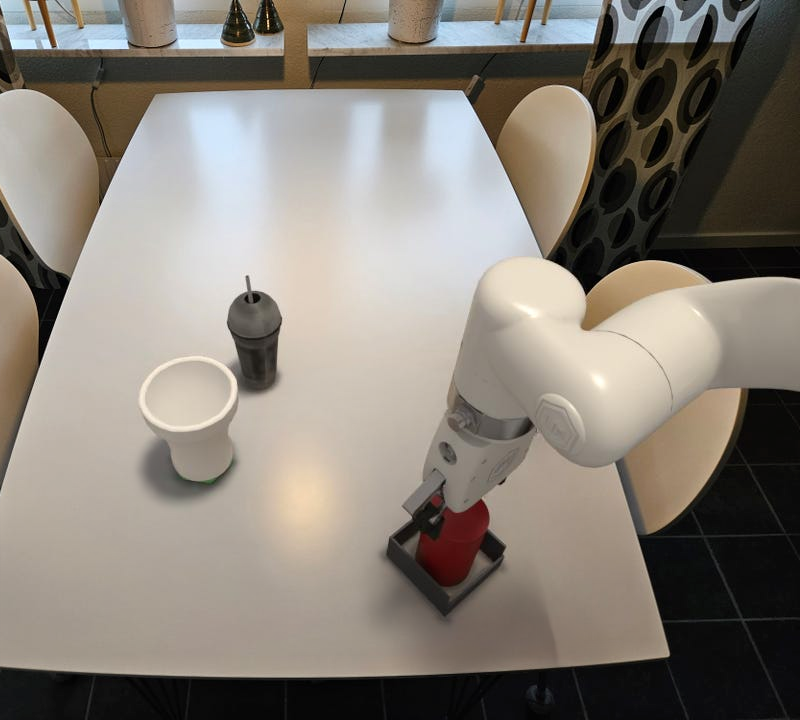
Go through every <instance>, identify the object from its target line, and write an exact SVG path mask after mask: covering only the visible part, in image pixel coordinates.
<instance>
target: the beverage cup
mask: <svg viewBox="0 0 800 720" xmlns="http://www.w3.org/2000/svg"><path fill="white" fill-rule="evenodd" d="M244 278H245V283H246V290H247V291H245V292H242V293H240V294H239V295H238V296H236V297H235V298H234V299H233V301H232V303H231V304H230V305H229V308H228V313H227V319H226V325H227V330H229V332H230V335H231V338H232V340H233V342H234V346H235V348H236V349H235V350H236V354H237V358H238V361H239V366H240V369H241V373H242V376H243V379H244V382H245V384H246V385H247V386H248V387H249V388H251V389H254V390H265V389H268V388H270V387H271V386H272V385H274V383H275V381H276V375H277V368H278V350H279V349H278V348H279V335H280V332H281V328H282V327H281V326H282V324H283V317H282V313H281V310H280V308H279V306H278V303H277V302H276V300H275V299H273V298H272V297H271V295H269V294H267V293H266V292H264V291H260V290H252V286H251V285H252V284H251V278H250V275H248V274H246V275H245V276H244Z"/></svg>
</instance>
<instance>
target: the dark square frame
mask: <svg viewBox="0 0 800 720" xmlns="http://www.w3.org/2000/svg"><path fill="white" fill-rule="evenodd" d="M419 532H420V531H419V530H418V529H417V528H416V527H415V525H414V521H413V519H412V518H411V519H409V520H408V521H407V522H406V523H404V524H403V525H402V526H401V527H399V528H398V529H397V530H396V531H394V532H393V533H392V534H391V535H390V536H389V537H388V540H387V548H386V554H385V556H386V557H387V558H388V559H389V560H390V561H391V562H392V563H393V564H394V565H395V566H396V568H397V569H398V570H399V571H400V572H401V573H402V574H403V575H404V576H405V577H406V578H407V579H408V580H409V582H411V584H413V585H414V587H416V589H417V590H418V591H419V592H420V593H421V594H422V595H423V596H424V597H425V598H426V600H427V601H429V603H430V604H431V605H433V607H434V608H435V609H436V610H437V611H438V612H439V613H440V615H441V616H443V617H444V618H446V617H447V616H448V615H449V614H450V613H451V612H452V611H453V610H454V609H456V608H457V606H459V605H460V604H461V603H462V602H463V601H464V600H465V599H466V598H467V597H469V596H470V594H472V593H473V592H474V591H475V590H476V589H477V588H478V587H480V586H481V584H482V583H483V582H484V581H486V580H487V579H488V578H489V577H490V576H491V575H492V574H494V572H496V570H498V569H499V568H500V567H501V565H502V563H503V561H504V559H505V557H506V555H505V554H504V553H505V551H506V549H507V547H508V545H507V544H505V543H504V542H503V540H501V539H500V538H499V537H498V536H497V535H495V534H494V533H493V532H492V531H491V530H490V529H489V528H488V529H487V531H486V533H485V536H484V538H483V541H482V543H481V546H480V548H479V550H480V551H481V552H482V554H484V555H485V556H486V557H487V558H488V559H489V560H490V561H491V562H493V563H492V564H490V565H489V567H487V568H486V569H485V570H484V571H482V573H480V575H479V576H478V577H476V578H475V579H474V580H473V581H472V582H471V583H470V584H469V585H468V586H466V587H465V588H464V589H463V590H462V591H461V592H460V593H459V594H458V595H457V596H456V597H455V598H453V600H451V598H452V597H451V595H450V594H449V593H448V592H447V591H446V590H444V588H443V587H441V586H440V585H439V584H438V583H437V582H436V581H435V580H434V579H433V578H432V577H431V576H430V575H429V574H428V573H427V572H426V571H425V570H424V569H423V568H422V567H421V566H420V565H419V564H418V563H417V562H416V561H415V558H414V557H413V556H412V555H411V554H410V553H409V552H408V551H407V549H405V548H404V547H403V545H404V544H405V543H407V542H409V540H410V539H411V538H412V537H414V536H415V535H417V534H418V533H419ZM450 600H451V601H450Z"/></svg>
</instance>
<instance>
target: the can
mask: <svg viewBox="0 0 800 720" xmlns="http://www.w3.org/2000/svg"><path fill="white" fill-rule="evenodd" d="M442 501H443V500H442V499H441V498H440V497H439V496H438V495H437V494H436V495H435V496H434V497H433V498H432V499H431V500H430V502H431V503H432V504H433V505H434V506H435V507H436V508H438V506H439V505H440V504H441V502H442ZM443 516H444V518H445V521H444V524H443V527H442V530H441V533H440V536H439V538H438V539H437V540H436V541H433V540H432V539H431V538H430V537H429V536H428V535H427V534H425V535H423V534H422V533H421V532H419V537H418V542H417V546H416V549H415V554H414V560H415V561H416V562H417V563H418V564H419V565H420V566H421V567H422V568H423V569H424V570H425V571H426V572H427V573H428V574H429V575H430V576H431V577H432V578H433V579H434V580H435V581H436V582H437V583H438V584H439V585H440V586H441V587H442V588H453V587H456V586H458V585H460V584H462V583H463V582H464V581H465V580H466V579H467V578H468V577H469V575H470V573H471V570H472V567H473V564H474V562H475V561H476V558H477V555H478V554H479V550H480V549H479V548H480V546H481V543H482V541H483V538H484V536H485V533H486V531H487V529H489V526H490V521H491V515H490V511H489V508H488V506H487V504H486V502H485V501H484V500H483V498H481V499H480V500H479V501H477V502H476V503H475V504H474V505H472V506H471V507H470V508H468V509H467V510H465V511H463V512H460V513H455V512H453V511H452V510H451V509H450V508H448V510H447V511H446V512H445V514H444V515H443Z"/></svg>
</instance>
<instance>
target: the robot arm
mask: <svg viewBox="0 0 800 720" xmlns="http://www.w3.org/2000/svg"><path fill="white" fill-rule="evenodd" d="M586 311H587V298H586V293H585V291H584V288H583V285H582V284H581V283H580V281H579V280H578V278H577V277H576V276H575V275H574V274H572V272H570V270H568V269H567V268H565V267H563V266H561V265H559V264H558V263H555V262H554V261H551V260H549V259H545V258H542V257H536V256H512V257H507V258H503V259H501V260H499V261H497V262H496V263H494V264H492V265H491V266H490V267H489V268H487V269H486V270H485V271H484V272H483V274H482V275H481V276H480V278H479V279H478V282H477V284H476V287H475V289H474V293H473V297H472V300H471V304H470V308H469V312H468V315H467V320H466V323H465V327H464V331H463V333H462V338H461V342H460V345H459V350H458V353H457V357H456V361H455V365H454V367H453V368H454V369H453V373H452V377H451V380H450V384H449V387H448V392H447V395H446V407H447V409H446V410H445V412H444V414H443V415H442V418H441V420H440V422H439V424H438V426H437V428H436V431H435V432H434V435H433V438H432V440H431V443H430V446H429V448H428V450H427V451H428V452H427V454H426V457H425V461H424V465H423V470H422V482H421V484H420V485H418V487H417V488H416V489H415V491H413V493H411V495H410V496H408V498H406V499H405V501H404V502H403V503H402V505H401V507H402V509H404V510H405V511H406V512H407V513H408V515H410V516H411V519H413V521H414V525H415V527H416V528H417V529H418V530H419V531H418V532H419V533H422V534H423V535H425V534H427V535H428V536H429V537H430V538H431V539H432V540H433V541H436V540H437V539H438V538H439V536H440V533H441V530H442V527H443V524H444V521H445V518H444V516H443V515H444V514H445V512H446V511H447V510H448V508H450V509H451V510H452V511H453V512H455V513H460V512H463V511H465V510H467V509H468V508H470V507H471V506H472V505H474V504H475V503H476V502H477V501H479V500H480V499H483V497H485V496H486V495H487V494H488V493H490V492H491V491H492V490H493V489H495V488H496V487H497V486H502V485H503V484H504V483H505V482H506V480H507V478H508V477H509V476H510V475H511V474H512V473H513V472H514V471H515V470H517V468H519V467H520V466H521V464H522V463H523V462H524V461H525V459H526V457H527V455H528V452H529V450H530V448H531V444H532V442H533V439H534V437H535V434H536V431H538V432H539V433H540V435H541V436H542V437H543V439H544V440H545V442H547V444H548V445H549V446H550V447H551V448H553V449H554V450H555V451H556V452H557V453H558V454H559V455H560V456H562V457H563V458H564V459H566V460H568V461H569V462H571V463H573V464H574V465H577V466H580V467H584V468H588V469H589V468H591V469H598V468H603V467H607V466H610V465H612V464H614V463H617V462H618V461H619V460H621V459H623V458H624V457H625V456H627V455H628V454H629V453H630V452H632V451H633V450H634V449H635V448H636V447H638V446H639V445H640V444H641V443H643V442H644V441H645V440H647V439H648V438H649V437H650V436H651V435H653V434H654V433H655V432H656V431H657V430H659V429H660V428H661V427H663V426H664V424H666V423H667V422H668V421H670V420H671V419H672V418H673V417H674V416H676V415H677V414H678V413H680V412H681V411H682V410H683V409H685V408H686V407H687V406H688V405H690V404H691V403H692V402H693V401H695V400H696V399H697V398H699V397H700V396H701V395H702V394H704V393H705V392H706V391H710V390H718V389H776V390H788V391H792V392H800V278H793V277H785V276H766V277H765V276H762V277H750V278H749V277H748V278H741V279H732V280H724V281H718V282H717V281H716V282H710V283H703V284H696V285H690V286H684V287H677V288H671V289H666V290H662V291H659V292H655V293H652V294H650V295H646V296H645V297H641V298H640V299H637V300H635V301H633V302H632V303H630V304H628V305H627V306H625V307H623V308H621V309H619V310H618V311H617V312H615V313H613V314H612V315H611V316H609V317H607V318H606V319H605V320H603V321H602V322H600V323H599V324H597V325H596V326H595V327H593V328H591V329H590V330H585V329H583V328H582V325H583V322H584V320H585V317H586ZM436 494H437V495H438V496H439V497H440V498H441V499H442V500H443V501H442V502H441V504H440V505H439V506H438V508H436V507H435V506H434V505H433V504H432V503H431V502H430V500H431V499H432V498H433V497H434V496H435V495H436Z"/></svg>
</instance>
